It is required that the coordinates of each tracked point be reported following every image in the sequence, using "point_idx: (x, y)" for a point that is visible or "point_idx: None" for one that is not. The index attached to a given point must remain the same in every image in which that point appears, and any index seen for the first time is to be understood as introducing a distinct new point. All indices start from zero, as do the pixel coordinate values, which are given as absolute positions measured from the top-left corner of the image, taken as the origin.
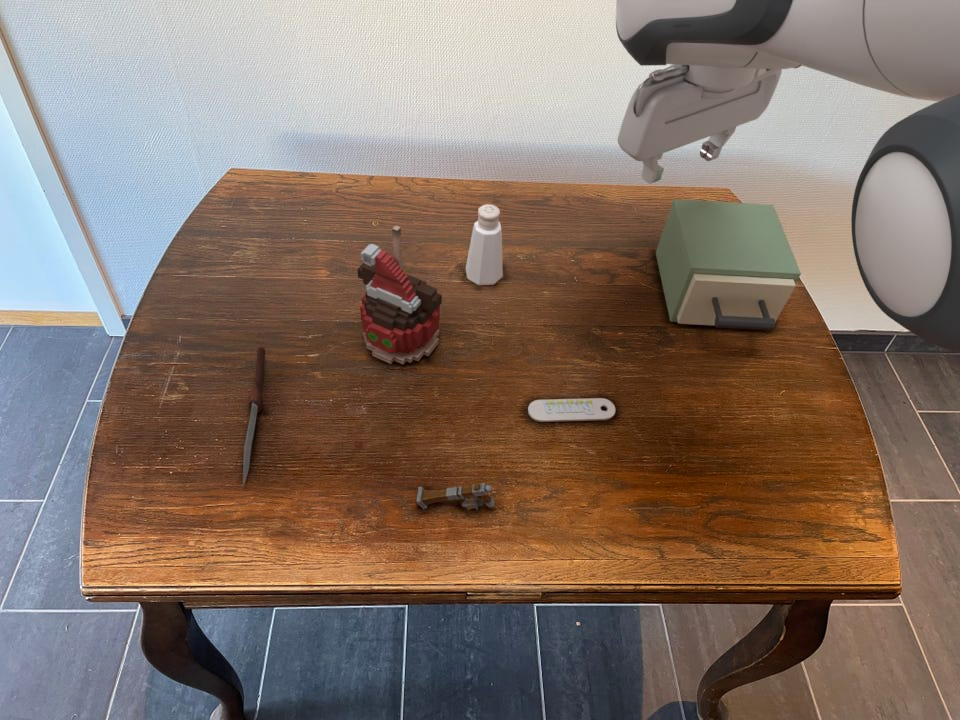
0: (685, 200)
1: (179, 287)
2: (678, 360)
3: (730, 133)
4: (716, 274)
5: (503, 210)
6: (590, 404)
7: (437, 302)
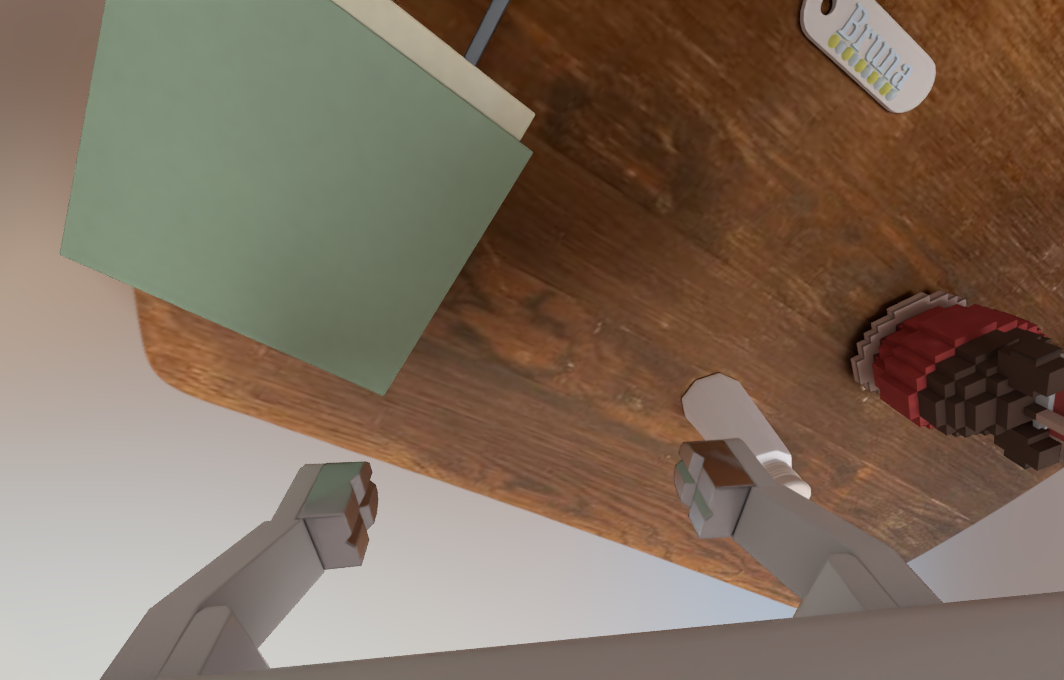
0: (354, 380)
1: (981, 504)
2: (585, 28)
3: (191, 605)
4: None
5: (586, 488)
6: (841, 32)
7: (1048, 347)
